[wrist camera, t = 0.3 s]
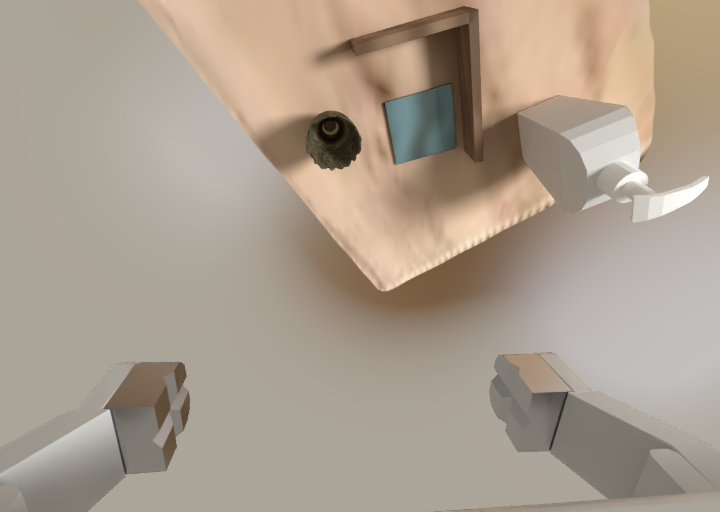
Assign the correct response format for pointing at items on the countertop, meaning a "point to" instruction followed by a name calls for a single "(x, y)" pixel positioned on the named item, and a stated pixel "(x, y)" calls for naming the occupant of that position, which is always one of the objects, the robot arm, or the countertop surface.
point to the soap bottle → (593, 157)
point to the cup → (333, 141)
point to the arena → (434, 90)
